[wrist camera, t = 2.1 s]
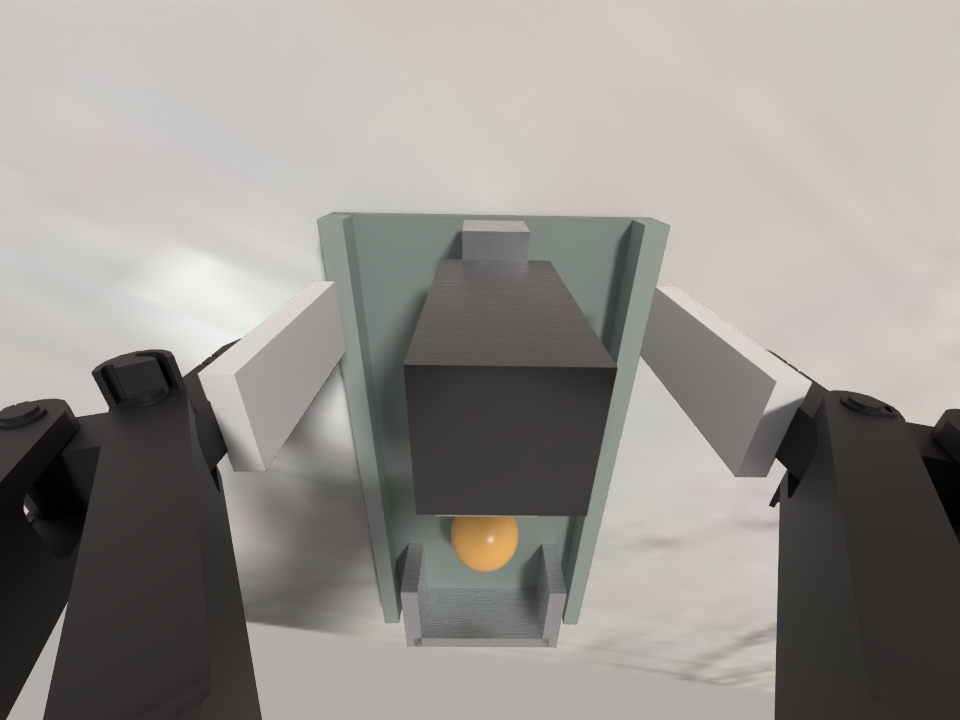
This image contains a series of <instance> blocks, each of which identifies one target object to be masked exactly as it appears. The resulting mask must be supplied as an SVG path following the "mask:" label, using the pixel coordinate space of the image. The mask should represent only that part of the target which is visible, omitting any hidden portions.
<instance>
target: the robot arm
mask: <svg viewBox="0 0 960 720" xmlns="http://www.w3.org/2000/svg"><path fill="white" fill-rule="evenodd" d="M345 351H346V347H345V341H344V335H343V328H342V322H341V316H340V310H339V303H338V297H337V291H336V285H335V282H333V281H313V282H312V283H311V284H310V285H308V286H307V287H306V288H305V289H303V290H302V291H301V292H300V293H298V294H297V295H296V296H294V297H293V298H292V299H291V300H289V301H288V302H287V303H286V304H284V305H283V306H282V307H281V308H279V309H278V310H277V311H276V312H274V313H273V314H272V315H271V316H269V317H268V318H267V319H266V320H264V321H263V322H262V323H261V324H259V325H258V326H257V327H256V328H254V329H253V330H252V331H251V332H249V333H248V334H247V335H246V336H244V337H243V338H242V339H238V340H236V341H234V342H232V343H229V344H227V345H225V346H223V347H222V348H220V349H219V350H218V351H216V352H215V353H214V354H213V355H212V357H209V358H207V359H206V360H205V361H204V362H202V364H200V365H198V366H197V367H196V368H194V369H193V370H192V371H191V372H189V373H188V374H187V375H185V376H184V377H183V378H182V376H181V373H180V371H179V368H178V365H177V363H176V360H175V358H174V355H173V354H172V353H171V352H170V351H166V350H144V351H136V352H132V353H128V354H124V355H120V356H118V357H115V358H113V359H110V360H107V361H105V362H104V363H102V364H100V365H99V366H97V367H96V368H95V369H94V370H93V371H92V375H93V377H94V379H95V381H96V383H97V385H98V387H99V389H100V390H101V392H102V394H103V396H104V398H105V400H106V402H107V404H108V406H109V412H108V413H101V414H95V415H88V416H81V417H75V416H74V414H73V412H72V410H71V409H70V407H69V405H68V404H67V403H66V401H65V400H60V399H43V400H37V401H32V402H29V401H26V402H22V403H19V404H17V405H16V406H15V405H12V406H9V407H6V408H4V409H3V410H2V411H0V720H6V719H7V717H8V715H9V713H10V711H11V709H12V707H13V705H14V703H15V701H16V700H17V697H18V696H19V694H20V692H21V690H22V688H23V686H24V684H25V682H26V680H27V678H28V677H29V675H30V673H31V671H32V669H33V667H34V665H35V663H36V661H37V659H38V657H39V655H40V653H41V652H42V650H43V648H44V646H45V644H46V642H47V640H48V638H49V636H50V634H51V633H52V631H53V629H54V627H55V625H56V623H57V621H58V619H59V617H60V615H61V613H62V611H63V609H64V608H65V606H66V604H67V602H68V605H67V609H66V614H65V619H64V623H63V628H62V633H61V638H60V642H59V647H58V652H57V656H56V661H55V666H54V671H53V675H52V680H51V684H50V689H49V694H48V699H47V704H46V708H45V713H44V717H43V720H262V717H261V712H260V705H259V700H258V693H257V688H256V681H255V675H254V669H253V663H252V657H251V651H250V645H249V639H248V633H247V627H246V621H245V615H244V609H243V603H242V597H241V591H240V585H239V579H238V573H237V567H236V561H235V556H234V550H233V544H232V538H231V532H230V526H229V520H228V514H227V508H226V502H225V496H224V490H223V484H222V478H221V475H220V472H219V470H218V467H217V464H218V463H219V461H220V460H221V459H222V458H223V457H224V455H225V454H226V453H227V454H228V457H229V460H230V462H231V465H232V468H233V470H234V471H256V472H265V471H266V470H267V468H268V467H269V465H270V464H271V462H272V461H273V459H274V458H275V456H276V455H277V453H278V452H279V450H280V449H281V447H282V446H283V444H284V443H285V441H286V440H287V438H288V437H289V435H290V434H291V432H292V431H293V429H294V428H295V426H296V424H297V423H298V421H299V420H300V418H301V417H302V415H303V414H304V412H305V411H306V409H307V408H308V406H309V405H310V403H311V402H312V400H313V399H314V397H315V396H316V394H317V393H318V391H319V390H320V388H321V387H322V385H323V384H324V382H325V381H326V379H327V378H328V376H329V375H330V373H331V372H332V370H333V369H334V367H335V366H336V364H337V363H338V361H339V360H340V358H341V357H342V355H343V354H344V352H345ZM640 355H641V357H642V358H643V359H644V360H645V362H646V363H647V364H648V366H649V367H650V368H651V369H652V371H653V372H654V373H655V375H656V376H657V377H658V378H659V380H660V381H661V382H662V384H663V385H664V386H665V387H666V389H667V390H668V391H669V392H670V394H671V395H672V396H673V398H674V399H675V400H676V401H677V403H678V404H679V405H680V407H681V408H682V409H683V410H684V412H685V413H686V414H687V416H688V417H689V418H690V419H691V421H692V422H693V423H694V424H695V426H696V427H697V428H698V430H699V431H700V432H701V433H702V435H703V436H704V437H705V439H706V440H707V441H708V442H709V444H710V445H711V446H712V448H713V449H714V450H715V451H716V453H717V454H718V455H719V456H720V458H721V459H722V460H723V462H724V463H725V464H726V465H727V467H728V468H729V469H730V471H731V472H732V473H733V474H734V476H735V477H767V475H768V472H769V470H770V468H771V466H772V464H773V462H774V460H775V458H777V459H778V460H779V461H780V462H781V463H782V464H783V465H784V466H785V467H786V468H787V471H786V473H785V475H784V477H783V478H782V480H781V482H780V484H779V486H778V488H777V490H776V492H775V494H774V496H773V498H772V500H771V502H770V504H769V506H771V507H775V505H776V504H777V503H778V502H780V520H779V561H778V602H777V643H776V684H775V720H960V409H949V410H946V411H945V412H944V414H943V415H942V416H941V418H940V419H939V421H938V422H937V424H936V425H935V427H931V426H926V425H920V424H914V423H909V422H906V421H905V419H904V417H903V416H902V415H901V414H900V412H899V411H898V410H896V409H895V408H894V407H892V406H890V405H888V404H886V403H884V402H882V401H880V400H877V399H875V398H873V397H870V396H867V395H863V394H860V393H855V392H849V391H838V390H833V391H828V390H827V389H825V388H824V387H822V386H821V385H820V384H818V383H817V382H815V381H814V380H812V379H811V378H809V377H808V376H807V375H805V374H804V373H802V372H801V371H798V369H796V368H795V367H794V366H792V365H791V364H787V362H786V361H785V360H783V359H782V358H781V357H779V356H778V355H776V354H775V353H773V352H771V351H769V350H766V349H764V348H763V347H761V346H760V345H758V344H757V343H756V342H754V341H753V340H751V339H750V338H748V337H747V336H746V335H744V334H743V333H741V332H740V331H738V330H737V329H736V328H734V327H733V326H731V325H730V324H728V323H727V322H726V321H724V320H723V319H721V318H720V317H718V316H717V315H716V314H714V313H713V312H711V311H710V310H708V309H707V308H706V307H704V306H703V305H701V304H700V303H698V302H697V301H696V300H694V299H693V298H691V297H690V296H688V295H687V294H686V293H684V292H683V291H681V290H680V289H678V288H677V287H655V290H654V294H653V298H652V303H651V307H650V311H649V316H648V320H647V324H646V328H645V333H644V337H643V341H642V346H641V350H640ZM24 505H25V506H26V508H27V509H28V511H29V512H28V514H27V515H25V513H24Z"/></svg>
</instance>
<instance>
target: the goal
mask: <svg viewBox="0 0 960 720" xmlns="http://www.w3.org/2000/svg"><path fill="white" fill-rule="evenodd" d="M400 593H401V601H402V608H403V616H404V624H405V632H406V639H407V646H429V647H556V644H557V639H558V634H559V629H560V624H561V619H562V614H563V609H564V604H565V599H566V594H567V593H566V588H565V583H564V578H563V573H562V568H561V563H560V558H559V553H558V548H557V544H542V548H541V555H540V562H539V570H538V577H537V584H536V589H517V588H427V575H426V562H425V549H424V543H409V547H408V552H407V558H406V564H405V569H404V575H403V581H402V586H401V592H400Z"/></svg>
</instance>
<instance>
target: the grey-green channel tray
mask: <svg viewBox="0 0 960 720" xmlns="http://www.w3.org/2000/svg"><path fill="white" fill-rule="evenodd" d="M464 220H489V221H524V223H525V225H526V226H527V228H528V229H529V231H530V241H529V254H528V260H538V261H550V262H551V263H552V265H553V266H554V268H555V270H556V271H557V273H558V274H559V276H560V277H561V279H562V281H563V282H564V284H565V285H566V287H567V288H568V290H569V292H570V293H571V295H572V296H573V298H574V299H575V301H576V303H577V304H578V306H579V307H580V309H581V310H582V312H583V314H584V315H585V317H586V318H587V320H588V321H589V323H590V325H591V326H592V328H593V329H594V331H595V332H596V334H597V336H598V337H599V339H600V340H601V342H602V343H603V345H604V347H605V348H606V350H607V351H608V353H609V354H610V356H611V358H612V359H613V361H614V362H615V364H616V366H617V367H618V369H617V374H616V379H615V384H614V388H613V393H612V398H611V403H610V408H609V412H608V417H607V422H606V427H605V432H604V436H603V441H602V446H601V451H600V456H599V461H598V465H597V470H596V475H595V480H594V485H593V489H592V494H591V499H590V504H589V509H588V513H587V516H539V517H514V518H515V520H516V523H517V526H518V533H519V538H518V545H517V548H516V551H515V553H514V555H513V556H512V558H511V559H510V561H509V562H508V563H507V564H505V565H504V566H503V567H501V568H500V569H498V570H495V571H491V572H478V571H475V570H472V569H470V568H468V567H467V566H465V565H464V564H463V563H462V562H461V561H460V560H459V558H458V557H457V556H456V554H455V552H454V549H453V546H452V542H451V527H452V523H453V520H454V518H455V516H436V515H416V507H415V495H414V483H413V472H412V460H411V448H410V437H409V425H408V413H407V401H406V390H405V378H404V366H403V364H404V361H405V359H406V356H407V353H408V350H409V347H410V344H411V341H412V339H413V336H414V333H415V330H416V327H417V324H418V321H419V319H420V316H421V313H422V310H423V307H424V304H425V301H426V299H427V296H428V293H429V290H430V287H431V284H432V281H433V279H434V276H435V273H436V270H437V267H438V264H439V261H440V259H462V230H463V225H464ZM317 224H318V230H319V236H320V242H321V248H322V254H323V260H324V266H325V271H326V277H327V281H333V282H335V285H336V291H337V297H338V303H339V310H340V316H341V322H342V328H343V335H344V341H345V347H346V351H345V352H344V354H343V355H342V357H341V358H340V360H341V366H342V371H343V377H344V383H345V389H346V395H347V401H348V407H349V413H350V419H351V424H352V430H353V436H354V442H355V448H356V454H357V460H358V466H359V472H360V477H361V483H362V489H363V495H364V501H365V507H366V513H367V519H368V525H369V530H370V536H371V542H372V548H373V554H374V560H375V566H376V572H377V577H378V583H379V589H380V595H381V601H382V607H383V613H384V619H385V623H399V620H400V614H401V608H402V601H401V593H400V592H401V586H402V581H403V575H404V569H405V564H406V558H407V552H408V547H409V543H424V549H425V562H426V575H427V588H517V589H536V584H537V577H538V570H539V562H540V555H541V548H542V544H557V548H558V553H559V558H560V563H561V568H562V573H563V578H564V583H565V588H566V593H567V594H566V599H565V604H564V609H563V614H562V619H563V624H577V622H578V618H579V614H580V609H581V605H582V601H583V597H584V592H585V588H586V584H587V580H588V575H589V571H590V567H591V562H592V558H593V554H594V550H595V545H596V541H597V537H598V533H599V528H600V524H601V520H602V515H603V511H604V507H605V503H606V498H607V494H608V490H609V486H610V481H611V477H612V473H613V469H614V464H615V460H616V456H617V451H618V447H619V443H620V439H621V434H622V430H623V426H624V422H625V417H626V413H627V409H628V405H629V400H630V396H631V392H632V387H633V383H634V379H635V375H636V370H637V366H638V362H639V358H640V350H641V346H642V341H643V337H644V333H645V328H646V324H647V320H648V316H649V311H650V307H651V303H652V298H653V294H654V290H655V287H656V285H657V281H658V276H659V272H660V268H661V264H662V259H663V255H664V251H665V247H666V242H667V238H668V234H669V230H670V225H668V224H665V223H663V222H660V221H658V220H655V219H653V218H630V217H572V216H514V215H456V214H399V213H341V212H333V213H331V214H328V215H326V216H324V217H321V218H319V219H317Z"/></svg>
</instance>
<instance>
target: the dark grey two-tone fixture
mask: <svg viewBox="0 0 960 720" xmlns="http://www.w3.org/2000/svg"><path fill="white" fill-rule="evenodd" d="M529 241H530V231H529V229H528V228H527V226H526V225H525V223H524V221H489V220H464V225H463V230H462V259H440V261H439V264H438V267H437V270H436V273H435V276H434V279H433V281H432V284H431V287H430V290H429V293H428V296H427V299H426V301H425V304H424V307H423V310H422V313H421V316H420V319H419V321H418V324H417V327H416V330H415V333H414V336H413V339H412V341H411V344H410V347H409V350H408V353H407V356H406V359H405V361H404V364H403V366H404V378H405V390H406V401H407V413H408V425H409V437H410V448H411V460H412V472H413V483H414V495H415V507H416V515H436V516H468V517H539V516H587V513H588V509H589V504H590V499H591V494H592V489H593V485H594V480H595V475H596V470H597V465H598V461H599V456H600V451H601V446H602V441H603V436H604V432H605V427H606V422H607V417H608V412H609V408H610V403H611V398H612V393H613V388H614V384H615V379H616V374H617V369H618V367H617V366H616V364H615V362H614V361H613V359H612V358H611V356H610V354H609V353H608V351H607V350H606V348H605V347H604V345H603V343H602V342H601V340H600V339H599V337H598V336H597V334H596V332H595V331H594V329H593V328H592V326H591V325H590V323H589V321H588V320H587V318H586V317H585V315H584V314H583V312H582V310H581V309H580V307H579V306H578V304H577V303H576V301H575V299H574V298H573V296H572V295H571V293H570V292H569V290H568V288H567V287H566V285H565V284H564V282H563V281H562V279H561V277H560V276H559V274H558V273H557V271H556V270H555V268H554V266H553V265H552V263H551V262H550V261H538V260H528V254H529Z"/></svg>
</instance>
